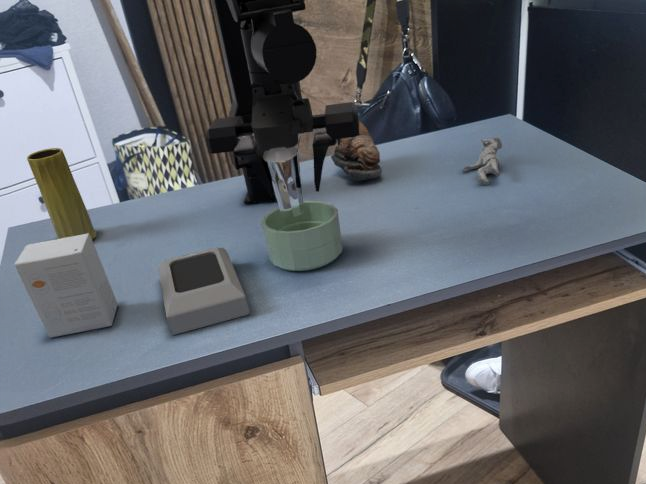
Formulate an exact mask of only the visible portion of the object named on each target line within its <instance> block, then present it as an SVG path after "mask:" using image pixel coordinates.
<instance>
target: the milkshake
mask: <svg viewBox="0 0 646 484" xmlns="http://www.w3.org/2000/svg"><path fill="white" fill-rule="evenodd" d="M301 137H302V136H301V135H300V136H299V137H298V144H297V146H294V147H292V148H285V147H281V148H273V149H270V150H268V151H265V152H264V154H263V159H264V163H265V165H266V168H267V171H268V174H269V177H270V180H271V183H272V186H273V189H274V192H275V195H276V199H277V201H276V202H277V205H278V208H280V212H281V215H282V216H284V217H296V216H299V215H301V214H302V213H304V212H305V208H304V202H305V201H304V195H303V187H302V178H301V167H300V155H299V147H300V142H301Z"/></svg>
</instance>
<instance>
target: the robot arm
mask: <svg viewBox="0 0 646 484" xmlns="http://www.w3.org/2000/svg"><path fill="white" fill-rule="evenodd" d="M210 1H211V6H212V10H213V14H214V19H215V24H216V28H217V32H218V33H217V34H218V37H219V41H220V46H221V52H222V56H223V60H224V65H225V69H226V74H227V79H228V82H229V86H230V87H229V88H230V91H231V97H232V102H231V106H230V109H229V113H228V116H227V117H221V118H214V120H213V122H212V123H211V125H210V126H208V129H207V130H206V132H205V143H206V148H207V151H208V154H211V155H215V154H222V153H228V154H229V158H230V163H231V164H232V165H233V168H235V170H236V171H238V170H240V169H242V173H243V178H244V183H245V187H246V191H247V192H246V194H245V197H244V200H243V203H244V205H250V204H251V205H252V204H259V203H267V202H277V199H276V195H275V192H274V189H273V186H272V183H271V180H270V177H269V174H268V171H267V168H266V165H265V163H264V159H263V154H264V152H265V151H268V150H270V149H273V148H281V147H285V148H292V147H294V146H295V147H297V146H298V143H299V135H300V134H305V133H312V134H313V139H312V144H311V145H312V154H313V183H314V188H315V192H316V193H319V192H320V187H321V182H322V175H323V168H324V163H325V159H326V156H327V152H328V150H329V147H334V146H337V145H338V142H337V139H341V138H349V137H356V136H358V135H359V121H360V117H359V109H358V108H359V107H358V105H356V104H355V103H354V101H349V102H342V103H333V104H332V103H331V104H327V105H326V104H325V109H324V113H320V114H313V111H312V110H313V109H312V104H311V103H310V99H309V98H308V97H306V98H305V97H304V98H303V95H302V89H301V81H303V80H304V79H306V78H307V77H308V76H309V75H310V74H311V72H312V71H313V69H314V67H315V64H316V61H317V45H316V43H315V40H314V38H313V36H312V35H311V33H310V32H309V30H307V29H306V28H305V27H304V26H302V25H301V24H298V23H296V22H295V20H294V14H293V13H295V12H300V11H305V10H306V2H305V1H306V0H210Z"/></svg>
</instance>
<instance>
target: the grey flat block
mask: <svg viewBox="0 0 646 484" xmlns="http://www.w3.org/2000/svg"><path fill="white" fill-rule="evenodd" d="M157 271H158V277H159V282H160V288H161V294H162V299H163V306H164V311H165V316H166V320H167V323H168V327H169V330H170V333H171V335H172V336H175V335H179V334H183V333H186V332H191V331H194V330H198V329H201V328H204V327H207V326H212V325H216V324H220V323H223V322H226V321H230V320H234V319H237V318H241V317H245V316H249V315H251V312H250V308H249V303H248V301H247V296H246V294H245V292H244V290H243V287H242V283H241V282H240V279H239V277H238V275H237V272H236V269H235V267H234V265H233V263H232V260H231V258H230V255H229V253H228V251H227V250H226V249H225V248H224V247H213V248H210V249H205V250H201V251H196V252H193V253H189V254H184V255H181V256H177V257H173V258H169V259H165V260H163V261H161V262H160V263H159V264H158V266H157Z"/></svg>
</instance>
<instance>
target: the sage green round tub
mask: <svg viewBox="0 0 646 484" xmlns="http://www.w3.org/2000/svg"><path fill="white" fill-rule="evenodd" d="M304 208H305V212H304V213H302V214H301V215H299V216H296V217H284V216H282V215H281V212H280V208H279V207H276V208H275V209H272V210H271V211H269V212H268V213H266V214H265V216H263V218H262V221H261V228H262V231H263V236H264V241H265V245H266V250H267V254H268V259H269V261H270V263H271V264H272V265H273V266H275V267H277V268H280V269H282V270H284V271H290V272H306V271H312V270H316V269H319V268H322V267H325V266H327V265H329V264H330V263H332V262H334V260H336V259H337V258H338V257H339V255H341V254H342V252H343V240H342V232H341V225H340V218H339V211H338V208H337V207H336V206H335V205H334V204H333V203H332V204H331V203H328V202H325V201H320V200H307V201H304Z"/></svg>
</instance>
